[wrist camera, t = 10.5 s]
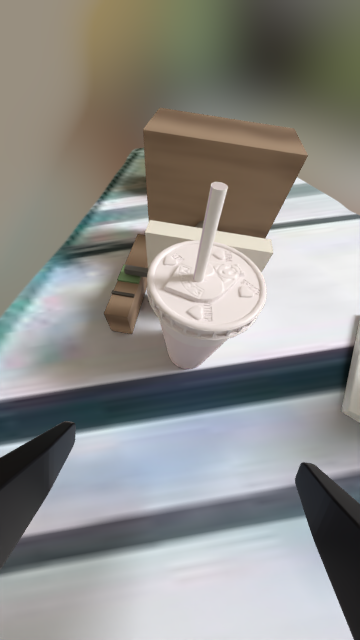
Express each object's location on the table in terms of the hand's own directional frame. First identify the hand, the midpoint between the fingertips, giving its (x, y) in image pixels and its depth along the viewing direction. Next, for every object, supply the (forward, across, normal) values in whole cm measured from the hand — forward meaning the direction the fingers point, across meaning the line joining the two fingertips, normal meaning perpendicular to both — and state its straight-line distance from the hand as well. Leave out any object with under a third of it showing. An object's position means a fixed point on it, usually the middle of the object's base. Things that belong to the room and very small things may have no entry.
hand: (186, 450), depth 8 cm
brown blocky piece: (+17, +1, -6) cm, 18 cm away
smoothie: (+11, 0, 0) cm, 11 cm away
